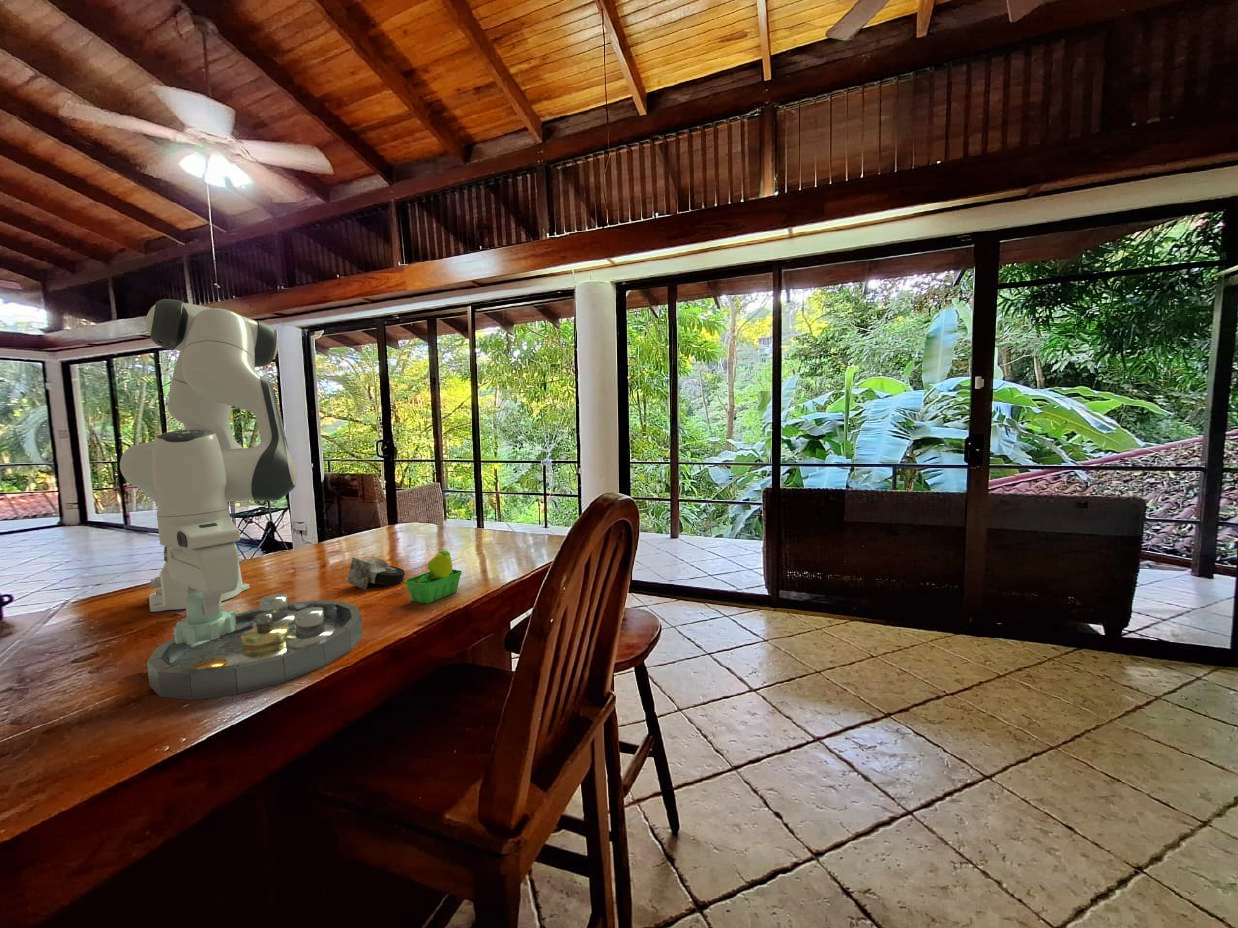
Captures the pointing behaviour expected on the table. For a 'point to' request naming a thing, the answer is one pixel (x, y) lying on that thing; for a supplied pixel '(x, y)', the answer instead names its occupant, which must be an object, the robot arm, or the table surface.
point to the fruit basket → (435, 580)
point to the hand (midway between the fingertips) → (205, 611)
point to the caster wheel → (373, 573)
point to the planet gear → (202, 623)
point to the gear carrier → (257, 649)
